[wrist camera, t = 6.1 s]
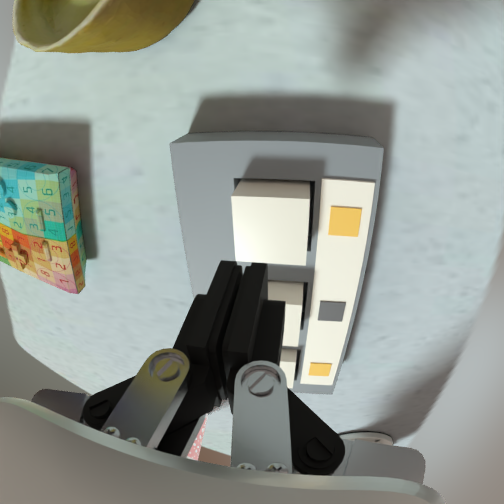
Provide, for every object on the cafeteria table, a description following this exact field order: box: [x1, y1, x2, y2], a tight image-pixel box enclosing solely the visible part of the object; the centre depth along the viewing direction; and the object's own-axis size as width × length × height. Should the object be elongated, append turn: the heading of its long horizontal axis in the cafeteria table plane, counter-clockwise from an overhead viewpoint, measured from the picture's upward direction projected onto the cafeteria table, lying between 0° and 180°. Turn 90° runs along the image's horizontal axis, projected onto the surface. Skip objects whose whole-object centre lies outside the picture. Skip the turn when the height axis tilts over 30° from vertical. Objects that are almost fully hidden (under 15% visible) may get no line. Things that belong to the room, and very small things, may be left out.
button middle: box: [268, 280, 304, 347], centre depth 21 cm, size 4×4×3 cm
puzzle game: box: [0, 158, 86, 294], centre depth 23 cm, size 12×5×20 cm
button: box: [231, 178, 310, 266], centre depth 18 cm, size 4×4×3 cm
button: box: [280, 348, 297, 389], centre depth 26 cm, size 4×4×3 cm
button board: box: [170, 131, 384, 394], centre depth 23 cm, size 12×23×3 cm, turn 2°
